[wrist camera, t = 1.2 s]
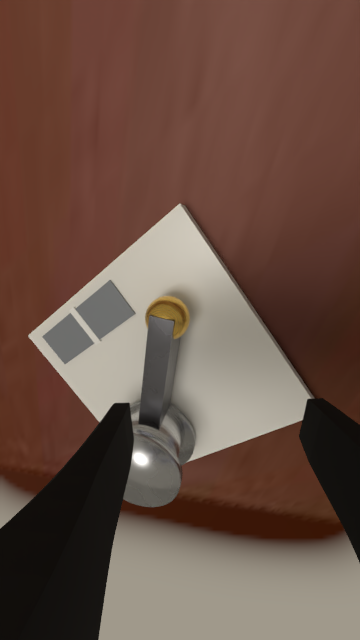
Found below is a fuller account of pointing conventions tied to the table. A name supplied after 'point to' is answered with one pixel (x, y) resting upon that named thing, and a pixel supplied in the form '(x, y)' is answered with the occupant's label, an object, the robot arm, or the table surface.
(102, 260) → the table surface
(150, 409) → the capstan
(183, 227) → the stand
